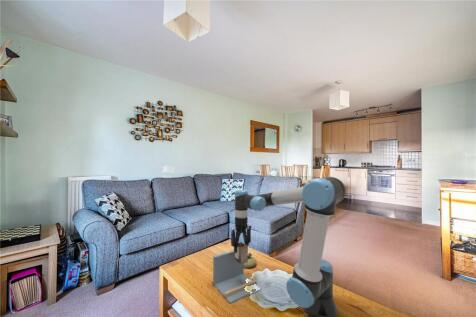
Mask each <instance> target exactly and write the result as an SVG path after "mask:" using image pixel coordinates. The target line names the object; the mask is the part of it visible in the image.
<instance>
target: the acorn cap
mask: <svg viewBox="0 0 476 317" xmlns="http://www.w3.org/2000/svg"><path fill="white" fill-rule="evenodd" d="M252 256H253V254H252V253H251V252H248V262H246V263H244V269H249V268H253V267H256V265H257V263H258V262H257V259H256V258H255V257H252Z"/></svg>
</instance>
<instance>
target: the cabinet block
mask: <svg viewBox="0 0 476 317" xmlns="http://www.w3.org/2000/svg"><path fill="white" fill-rule="evenodd" d="M238 247H239V259H237V258H236V257H235V252H234V260H236V261H237V262H238V263H239V264H243V263H246V262H248V254H249V252H248V251H249V245H248V246H247V245H245V244H244V242H242V241H239V242H238Z"/></svg>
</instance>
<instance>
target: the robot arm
mask: <svg viewBox="0 0 476 317" xmlns="http://www.w3.org/2000/svg"><path fill="white" fill-rule="evenodd" d="M346 188H347V187H346V186H345V184H344V183H343V181H342V180H341V179H339V178H337V177H334V176H327V177H315V178H312V179H310V180H308V181H307V182H305V184H304V185H303V186H300V187H298V186H297V187H295V188H289V189H282V190H279V191H273V192H267V193H262V194H256V195H252V194H249V192H248V190H247V189H237V190H235V192H234V216H235V217H234V227H232V228H230V246H231V247H233V250H234V252H235V257H236V258H237V259H239V247H238V243H239V242H240V238H241V235H242V237H243V244H245V245H247V246H248V247H249V245H250V243H251V240H252V239H251V238H252V225H250V224H248V222H249V220H248V219H249V218H248V216H249V210H252V211H259V212H261V211H263V210H264V209H265V208H267V207H272V206H273V207H274V206H280V205H290V204H297V203H304V205H303V207H304V209H305V211H306V218H305V221H304V223H305V224H304V230H303V235H302V241H301V246H300V252H299V258H298V262H297V263H295V264H294V265H293V269H292V275H291V277H289V278H288V280H287V281H286V284H285V286H286V291H287V294H288V295H289V298H290V299H291V300H292V302H294V304H295V305H297V306H298V307H300V308H302V309H303V311H304V312H305V314H306V315H307V316H309V317H338V307H337V305H336V301H335V298H334V270H333V269H334V268H333V265H332V264H331V263H330V262H329V261H327V260H325V259H323V254H324V248H325V242H326V239H327V238H326V237H327V231H328V226H329V222H330V218H331V217H333V216H335V213H336V208H337V207H336V206H337V204H339V203H340V202H342V201H343V200H344V199H345V198H346V194H347V189H346ZM248 209H249V210H248Z"/></svg>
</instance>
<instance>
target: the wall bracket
mask: <svg viewBox="0 0 476 317" xmlns="http://www.w3.org/2000/svg"><path fill="white" fill-rule="evenodd" d="M244 269H245V268H244V263H243V264H239V263H238V262H237V261H236V260H234V249H233V250H229V251H225V252H223V253H218V254H216V255H213V256H212V285H213V286H214V287H215V288H216V289H217V291H219V293H220V294H221V295H222V296H223V298H224V299H225V300H226V302H228V304H233V303H236V302H237V301H240V300H242V299H244V298H246V297H248V296H251V295H250V292H247V291H245V289H244V288H245V287H246V286H251V285H254V284H256V285H257V280H255V279H253V280H252V281H251V282H248V283H246V281H245V280H246V279H247V278H249V277H248V276H247V275H246V274H245V273H244ZM251 291H252V292H255V291H256V289H252V290H251ZM255 293H256V292H255Z"/></svg>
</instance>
